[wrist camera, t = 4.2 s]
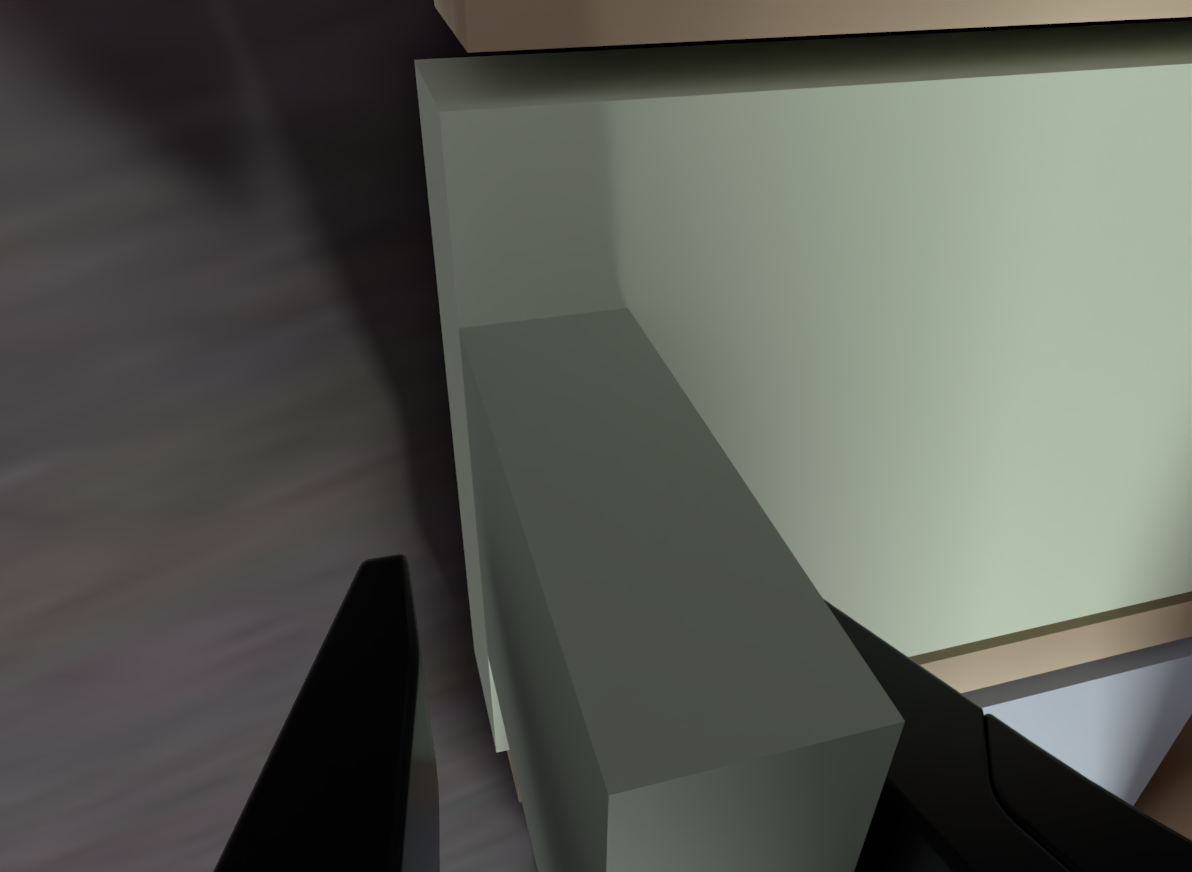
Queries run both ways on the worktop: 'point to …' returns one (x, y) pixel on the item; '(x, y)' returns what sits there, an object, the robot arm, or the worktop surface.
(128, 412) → the worktop surface
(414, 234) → the worktop surface
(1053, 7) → the board
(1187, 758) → the walnut cube
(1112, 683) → the blue-grey tray
